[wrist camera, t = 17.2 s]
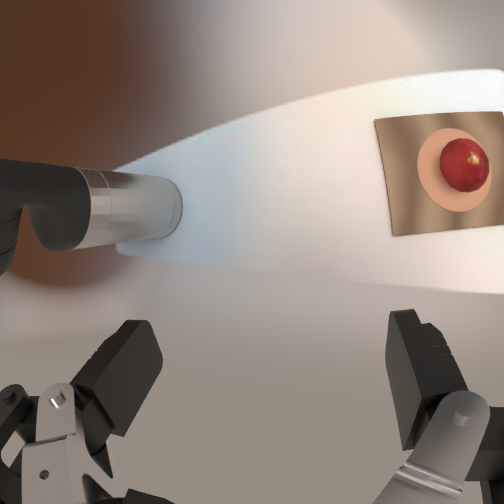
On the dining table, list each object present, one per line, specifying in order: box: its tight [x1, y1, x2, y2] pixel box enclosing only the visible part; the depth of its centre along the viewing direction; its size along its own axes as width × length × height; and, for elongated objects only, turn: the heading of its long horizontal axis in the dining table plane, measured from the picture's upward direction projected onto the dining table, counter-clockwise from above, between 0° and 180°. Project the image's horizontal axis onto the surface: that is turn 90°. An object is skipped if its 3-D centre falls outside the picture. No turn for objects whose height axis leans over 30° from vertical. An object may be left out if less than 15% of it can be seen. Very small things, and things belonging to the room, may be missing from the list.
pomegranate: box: [440, 138, 489, 193], centre depth 26 cm, size 6×6×8 cm
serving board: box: [374, 112, 504, 236], centre depth 30 cm, size 18×14×1 cm
